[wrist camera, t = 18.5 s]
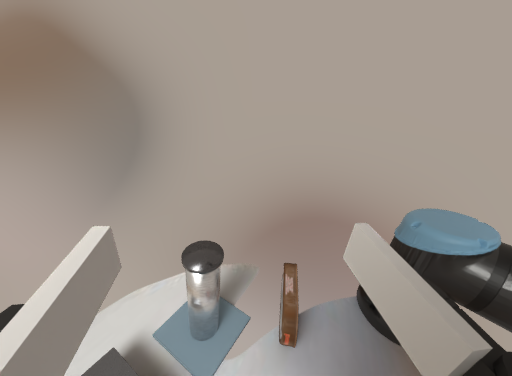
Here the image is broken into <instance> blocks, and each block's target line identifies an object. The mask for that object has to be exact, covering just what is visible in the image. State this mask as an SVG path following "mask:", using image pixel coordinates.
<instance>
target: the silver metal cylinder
mask: <svg viewBox="0 0 512 376" xmlns="http://www.w3.org/2000/svg"><path fill="white" fill-rule="evenodd" d="M223 258H224V252H223V249H222V248H221V246H220V245H218V244H217V243H215V242H211V241H198V242H195V243H193V244H191V245H189V246H188V247H186V249H185V250H184V251H183V253H182V264H183V267H184V268H185V271H186V285H187V299H188V314H189V328H190V334H191V336H192V337H193V338H194V339H196V340H198V341H206V340H209V339H210V338H212V337H213V336H214V335H215V333H216V332H217V330H218V324H219V295H220V266H221V264H222V262H223Z"/></svg>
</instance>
